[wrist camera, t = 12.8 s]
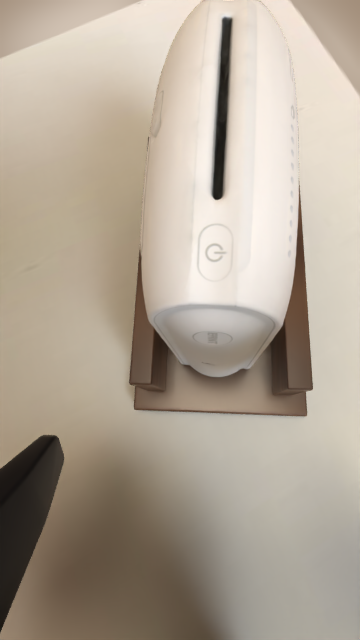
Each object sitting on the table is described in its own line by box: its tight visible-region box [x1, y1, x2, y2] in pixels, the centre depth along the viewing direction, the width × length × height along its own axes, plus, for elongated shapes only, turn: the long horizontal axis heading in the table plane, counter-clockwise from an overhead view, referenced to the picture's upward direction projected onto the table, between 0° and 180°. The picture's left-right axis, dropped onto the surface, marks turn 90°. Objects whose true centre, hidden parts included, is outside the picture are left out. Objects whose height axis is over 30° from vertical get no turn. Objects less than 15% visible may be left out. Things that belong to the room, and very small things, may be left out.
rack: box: [129, 137, 313, 416], centre depth 18 cm, size 14×9×5 cm, turn 178°
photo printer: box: [140, 0, 299, 377], centre depth 13 cm, size 10×4×12 cm, turn 175°
